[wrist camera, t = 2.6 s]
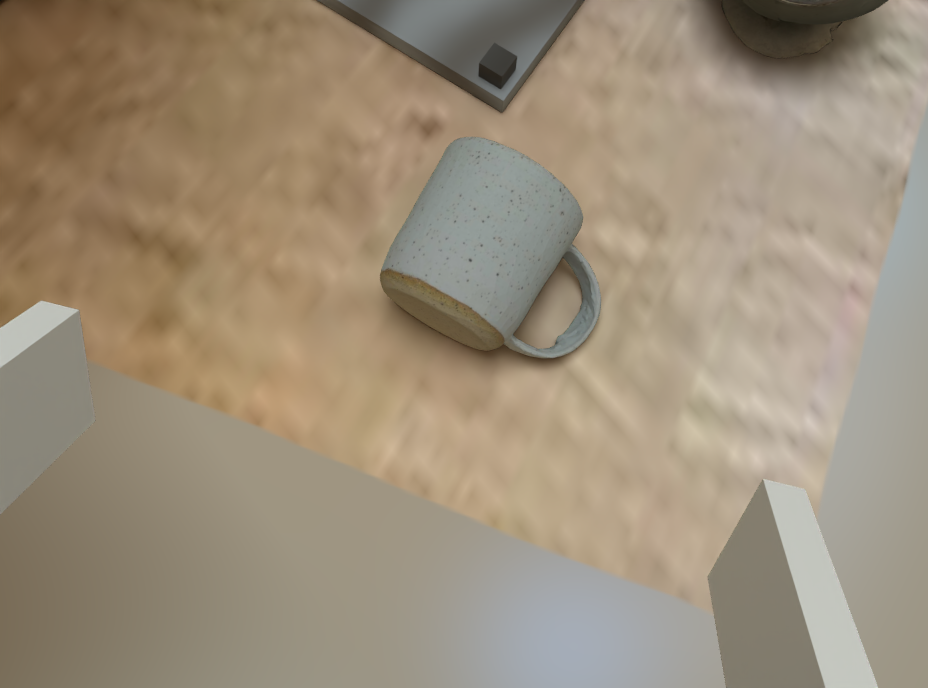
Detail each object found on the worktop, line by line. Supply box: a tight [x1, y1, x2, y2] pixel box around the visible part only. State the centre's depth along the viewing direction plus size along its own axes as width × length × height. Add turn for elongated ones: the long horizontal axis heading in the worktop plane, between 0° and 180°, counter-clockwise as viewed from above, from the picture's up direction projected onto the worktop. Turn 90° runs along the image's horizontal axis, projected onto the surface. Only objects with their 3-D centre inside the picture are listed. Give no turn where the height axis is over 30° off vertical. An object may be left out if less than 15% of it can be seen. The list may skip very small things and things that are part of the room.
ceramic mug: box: [380, 137, 601, 358], centre depth 33 cm, size 11×8×8 cm
